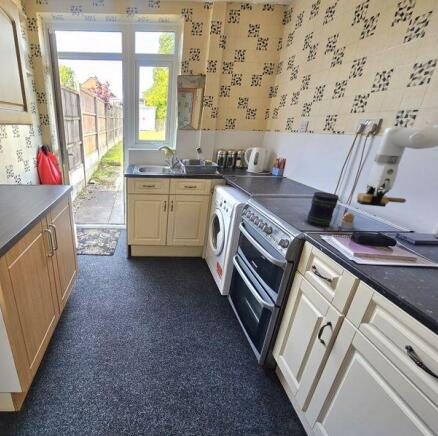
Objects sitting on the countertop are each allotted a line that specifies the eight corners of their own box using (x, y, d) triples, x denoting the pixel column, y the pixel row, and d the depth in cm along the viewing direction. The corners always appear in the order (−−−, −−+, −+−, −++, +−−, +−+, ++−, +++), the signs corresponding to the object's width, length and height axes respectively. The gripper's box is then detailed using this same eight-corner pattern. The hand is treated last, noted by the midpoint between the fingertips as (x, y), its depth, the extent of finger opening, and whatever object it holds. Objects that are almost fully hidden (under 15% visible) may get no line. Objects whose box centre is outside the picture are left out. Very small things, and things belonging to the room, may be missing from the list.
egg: (349, 225, 121) (354, 211, 118) (354, 229, 116) (359, 215, 113) (336, 223, 122) (340, 210, 120) (340, 227, 117) (345, 214, 115)
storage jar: (302, 219, 126) (309, 191, 121) (322, 220, 126) (331, 192, 120) (312, 227, 117) (321, 197, 112) (334, 228, 116) (344, 198, 111)
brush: (399, 205, 104) (403, 196, 102) (406, 209, 100) (410, 199, 98) (355, 201, 108) (358, 192, 106) (360, 204, 104) (363, 195, 102)
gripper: (412, 163, 89) (393, 210, 96) (386, 157, 104) (371, 199, 111) (387, 162, 91) (370, 208, 98) (365, 156, 106) (351, 197, 113)
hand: (371, 203), depth 104 cm, fingers closed on brush, 4 cm apart
